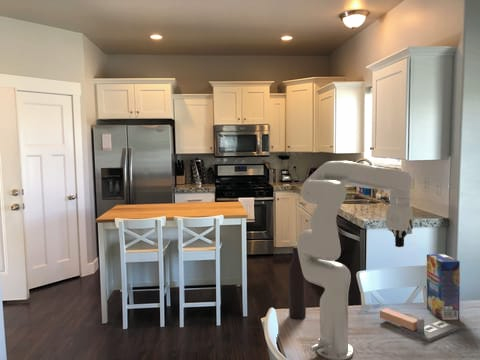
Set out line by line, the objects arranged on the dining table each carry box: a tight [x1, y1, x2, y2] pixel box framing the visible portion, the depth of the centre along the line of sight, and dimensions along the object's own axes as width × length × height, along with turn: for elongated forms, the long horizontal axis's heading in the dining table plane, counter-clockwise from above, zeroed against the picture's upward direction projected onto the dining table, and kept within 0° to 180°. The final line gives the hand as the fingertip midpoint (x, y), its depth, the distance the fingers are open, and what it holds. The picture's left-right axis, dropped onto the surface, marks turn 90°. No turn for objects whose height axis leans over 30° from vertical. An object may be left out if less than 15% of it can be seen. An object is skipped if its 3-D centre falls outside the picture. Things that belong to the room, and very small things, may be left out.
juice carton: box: [426, 253, 461, 321], centre depth 157 cm, size 12×8×24 cm, turn 0°
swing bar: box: [379, 307, 417, 331], centre depth 147 cm, size 14×4×3 cm, turn 33°
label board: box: [399, 315, 459, 343], centre depth 144 cm, size 18×12×6 cm, turn 119°
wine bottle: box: [287, 246, 307, 320], centre depth 159 cm, size 7×7×30 cm
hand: (399, 246), depth 152 cm, fingers closed
